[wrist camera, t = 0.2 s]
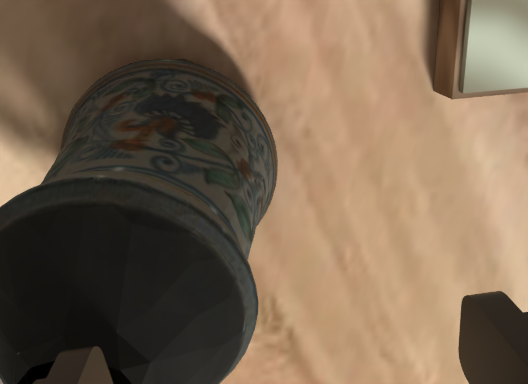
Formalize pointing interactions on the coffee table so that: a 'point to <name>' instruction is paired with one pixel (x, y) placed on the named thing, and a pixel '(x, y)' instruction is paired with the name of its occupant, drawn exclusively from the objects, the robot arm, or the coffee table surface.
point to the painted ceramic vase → (141, 231)
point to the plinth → (482, 48)
